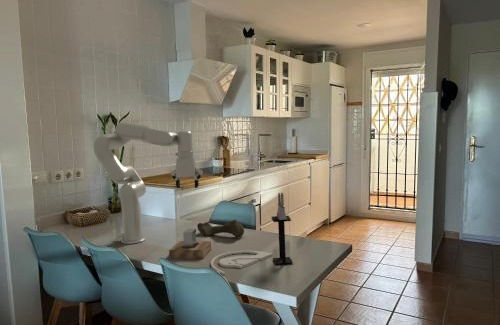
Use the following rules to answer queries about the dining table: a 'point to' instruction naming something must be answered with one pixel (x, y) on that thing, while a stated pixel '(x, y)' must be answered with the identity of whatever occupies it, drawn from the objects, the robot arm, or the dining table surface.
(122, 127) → the robot arm
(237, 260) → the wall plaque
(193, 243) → the grey rectangular prism
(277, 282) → the dining table surface
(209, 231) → the bone
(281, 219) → the black pedestal stand
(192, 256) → the well block
